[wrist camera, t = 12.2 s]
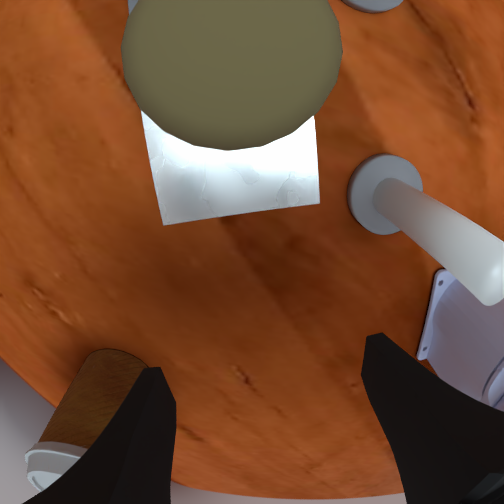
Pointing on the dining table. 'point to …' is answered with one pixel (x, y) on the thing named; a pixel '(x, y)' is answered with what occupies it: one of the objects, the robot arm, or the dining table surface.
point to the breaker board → (230, 174)
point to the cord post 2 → (426, 224)
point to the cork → (231, 67)
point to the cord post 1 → (372, 5)
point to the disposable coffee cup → (82, 414)
